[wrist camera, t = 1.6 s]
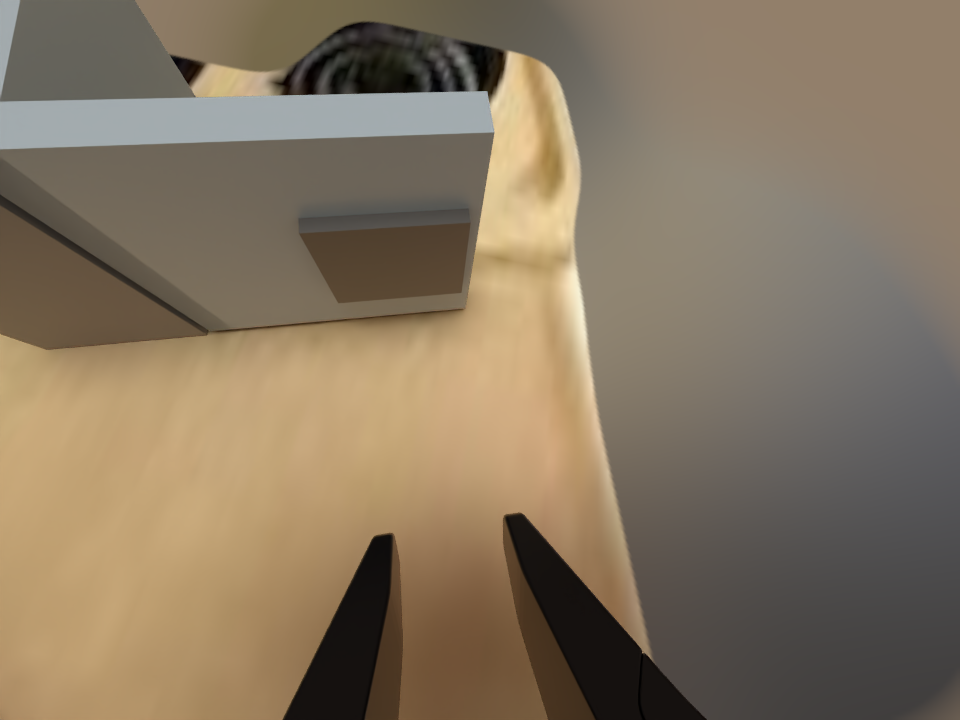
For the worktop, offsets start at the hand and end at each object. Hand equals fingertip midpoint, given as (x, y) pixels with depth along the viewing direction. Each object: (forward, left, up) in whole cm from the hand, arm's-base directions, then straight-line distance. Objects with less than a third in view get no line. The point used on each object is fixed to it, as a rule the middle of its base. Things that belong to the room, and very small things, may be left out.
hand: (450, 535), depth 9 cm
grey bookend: (+16, +2, -13) cm, 21 cm away
